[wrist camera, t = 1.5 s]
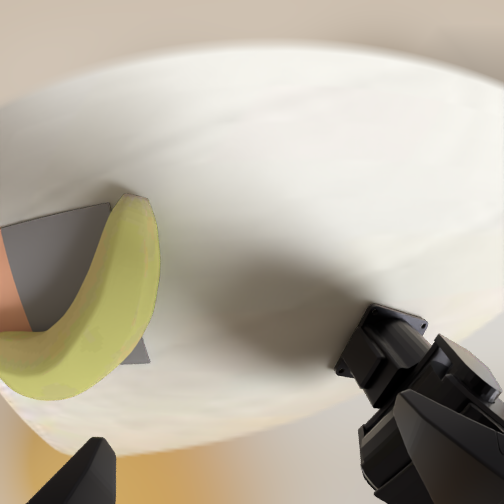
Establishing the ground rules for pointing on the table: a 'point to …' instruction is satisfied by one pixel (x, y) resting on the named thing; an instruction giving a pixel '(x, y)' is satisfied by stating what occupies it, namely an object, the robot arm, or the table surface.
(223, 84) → the table surface
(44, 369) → the banana
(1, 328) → the pad
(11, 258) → the mat
